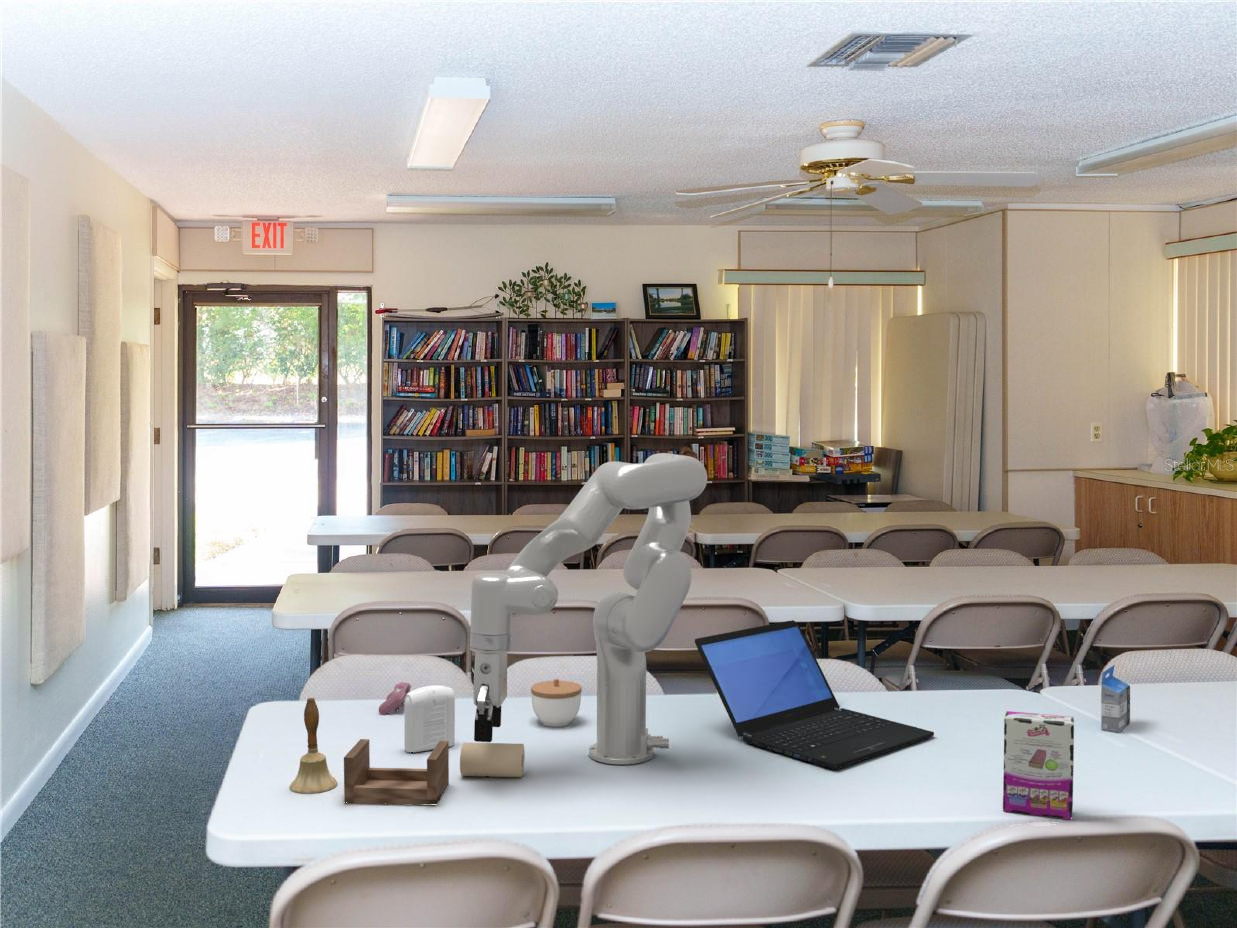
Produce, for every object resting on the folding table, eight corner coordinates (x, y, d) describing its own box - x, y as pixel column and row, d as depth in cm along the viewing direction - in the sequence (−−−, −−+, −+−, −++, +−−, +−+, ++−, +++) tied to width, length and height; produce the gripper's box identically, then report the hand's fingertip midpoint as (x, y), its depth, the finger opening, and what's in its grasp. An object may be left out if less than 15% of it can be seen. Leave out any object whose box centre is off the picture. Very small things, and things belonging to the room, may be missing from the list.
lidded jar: (591, 724, 249) (591, 680, 248) (547, 733, 243) (547, 688, 242) (564, 712, 257) (564, 670, 257) (521, 720, 251) (521, 677, 251)
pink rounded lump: (394, 722, 255) (409, 693, 255) (376, 712, 255) (390, 684, 255) (403, 709, 265) (417, 682, 265) (385, 700, 265) (399, 673, 265)
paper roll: (525, 770, 219) (525, 739, 219) (520, 782, 213) (520, 749, 213) (465, 769, 220) (465, 737, 219) (459, 780, 214) (459, 748, 213)
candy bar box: (1072, 810, 200) (1075, 715, 198) (1072, 820, 195) (1075, 723, 194) (1003, 802, 204) (1005, 708, 202) (1001, 811, 199) (1004, 716, 198)
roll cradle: (448, 784, 211) (448, 740, 211) (436, 805, 201) (436, 759, 200) (361, 782, 212) (360, 739, 212) (344, 803, 202) (343, 757, 201)
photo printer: (449, 740, 237) (448, 680, 236) (458, 746, 233) (457, 685, 233) (401, 749, 231) (400, 687, 231) (410, 755, 228) (409, 692, 227)
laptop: (834, 775, 218) (836, 672, 217) (691, 729, 246) (692, 638, 245) (936, 739, 240) (939, 645, 239) (794, 701, 268) (795, 617, 267)
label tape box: (1119, 733, 243) (1121, 675, 243) (1099, 730, 246) (1101, 672, 245) (1130, 724, 250) (1132, 667, 250) (1110, 720, 253) (1112, 664, 252)
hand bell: (312, 797, 205) (311, 707, 204) (279, 788, 209) (278, 700, 208) (347, 783, 212) (346, 696, 211) (314, 775, 216) (313, 689, 215)
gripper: (503, 652, 206) (500, 748, 207) (517, 633, 223) (514, 722, 224) (461, 650, 206) (458, 746, 207) (478, 631, 224) (475, 720, 224)
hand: (487, 733), depth 216 cm, fingers open, 9 cm apart
